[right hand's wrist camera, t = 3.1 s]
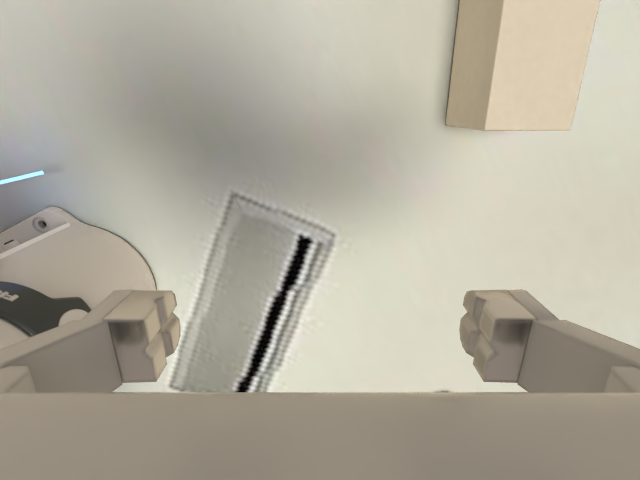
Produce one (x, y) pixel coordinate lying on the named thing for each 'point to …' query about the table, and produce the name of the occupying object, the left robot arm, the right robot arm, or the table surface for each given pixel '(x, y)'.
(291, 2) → the table surface
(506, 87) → the box
